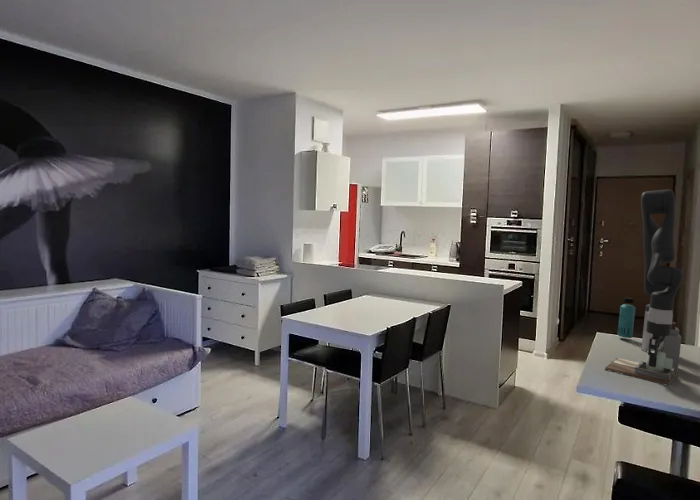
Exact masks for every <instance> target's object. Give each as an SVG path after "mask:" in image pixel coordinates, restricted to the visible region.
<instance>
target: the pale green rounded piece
mask: <svg viewBox="0 0 700 500" xmlns="http://www.w3.org/2000/svg"><path fill="white" fill-rule="evenodd" d="M652 352H653V353H655V351H652ZM645 362H646V369H647V370H651V371H655V372H659V373H664V368H667V369H672V365H673V359H670V358H666V353H664V352H661V351H660V352H658V356H657V362H656V367H651V366H649V355H648V352H647V354H646V361H645Z"/></svg>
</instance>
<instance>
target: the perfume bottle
mask: <svg viewBox="0 0 700 500" xmlns="http://www.w3.org/2000/svg"><path fill="white" fill-rule="evenodd" d="M681 345H682V335H680V329H679V328H678V327H677V323H676V322H675V321H672V327H671V334H670V335H669V336H665V343H664V350H663V352H664V353H666V358H670V359H673V365H672V368H674V369H675V371H677V373H678V371H679V363H680V355H681V353H680V352H681V347H682V346H681Z"/></svg>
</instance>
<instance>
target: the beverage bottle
mask: <svg viewBox="0 0 700 500" xmlns="http://www.w3.org/2000/svg"><path fill="white" fill-rule="evenodd" d="M634 300H635V299H634V298H633V297H624V298H623V304H622V305H620V307H619V313H618V314H619V315H618V316H619V317H618V327H617V336H618V337H622V338H625V339H626V338H627V339H632V338H633V335H634V327H635V325H634V322H635V317H636V316H635V314H636V306H634V305H633V304H634Z"/></svg>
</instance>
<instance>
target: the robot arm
mask: <svg viewBox="0 0 700 500" xmlns="http://www.w3.org/2000/svg"><path fill="white" fill-rule="evenodd" d="M640 209H641V210H640V211H641V218H642V227H643V231H642V232H643V235H642V236H643V240H642V241H643V243H642V246H643V247H642V248H643V257H644V258H643V259H644V274H643V275H644V276H643V291H644V293H645V295H647V296H650V301H649V303H648V304H646V305H645V309H644V310H645V312H644V320H643V321H644V322H643V329H642V337H641V338H642V339H641V350H642V351H643V352H648V355H649V366H651V367H656V362H657V356H658V352H660V351H661V352H663V350H664V343H665V336H669V335H670V334H671V327H672V322H673V317H674V316H673V315H674V314H673V311H674V310H673V309H674V308H673V307H674V300H675V297H676V295H677V292H678V289H679V287H680V285H681V283H682V281H683V278H684V277H683V275H684V274H683V272H682V270H681V268H679V267H676V266H663V265H664V264H670V263H672V262H673V261H674V260H675V259H676V257H675V256H676V254H675V253H676V252H675V243H674V242H675V241H674V239H675V238H674V234H675V233H674V232H675V224H676V223H675V220H676V197H675V192H674V191H673V190H671V189H658V190H647V191H644V192H642V194H641V197H640ZM663 214H665V216H664V220H663V222H662V223H661V225H660V226H659V225H658V223H657V222H656V221H655V220H654V219H655V218H654V217H653V215H663ZM652 351H655V353H653V352H652Z"/></svg>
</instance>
